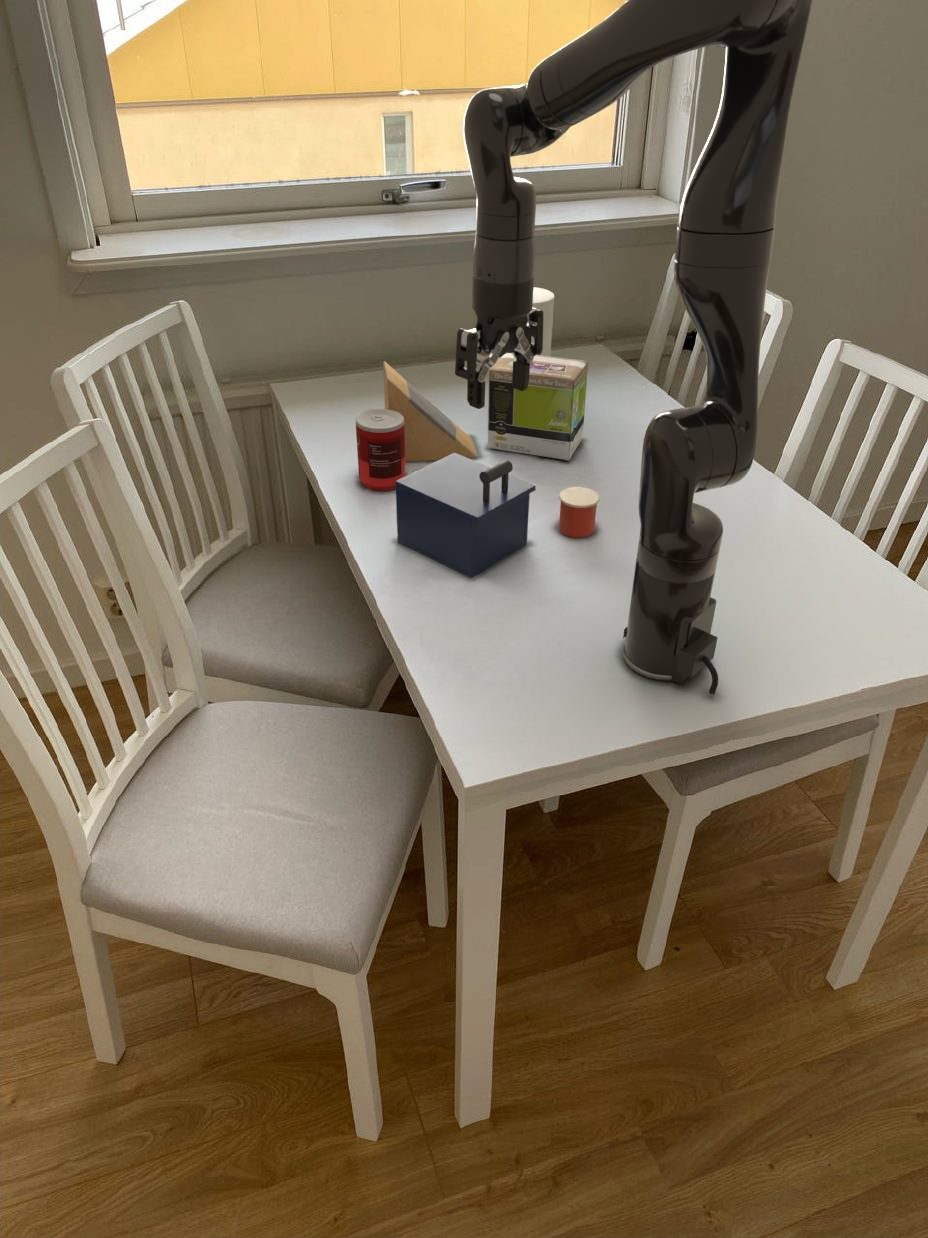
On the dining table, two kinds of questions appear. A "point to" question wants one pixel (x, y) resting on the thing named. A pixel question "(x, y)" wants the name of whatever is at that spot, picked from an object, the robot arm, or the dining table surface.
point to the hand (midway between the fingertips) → (498, 397)
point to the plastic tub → (578, 511)
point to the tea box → (538, 407)
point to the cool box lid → (467, 486)
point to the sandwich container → (423, 422)
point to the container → (546, 304)
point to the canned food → (380, 448)
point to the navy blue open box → (460, 533)
